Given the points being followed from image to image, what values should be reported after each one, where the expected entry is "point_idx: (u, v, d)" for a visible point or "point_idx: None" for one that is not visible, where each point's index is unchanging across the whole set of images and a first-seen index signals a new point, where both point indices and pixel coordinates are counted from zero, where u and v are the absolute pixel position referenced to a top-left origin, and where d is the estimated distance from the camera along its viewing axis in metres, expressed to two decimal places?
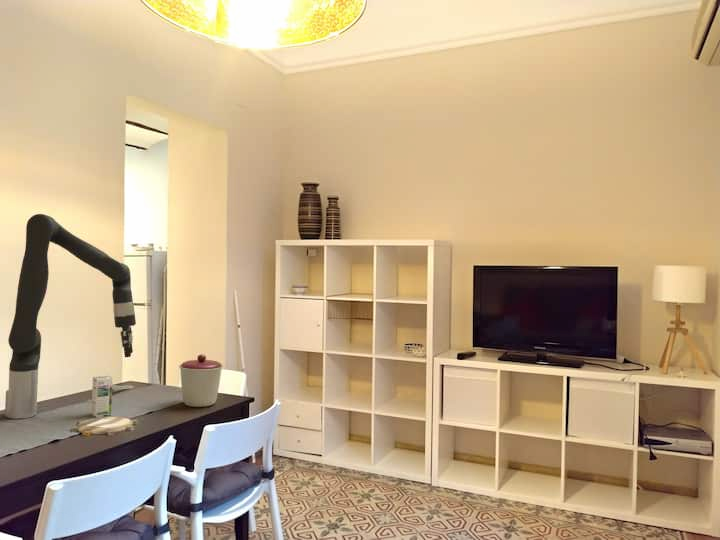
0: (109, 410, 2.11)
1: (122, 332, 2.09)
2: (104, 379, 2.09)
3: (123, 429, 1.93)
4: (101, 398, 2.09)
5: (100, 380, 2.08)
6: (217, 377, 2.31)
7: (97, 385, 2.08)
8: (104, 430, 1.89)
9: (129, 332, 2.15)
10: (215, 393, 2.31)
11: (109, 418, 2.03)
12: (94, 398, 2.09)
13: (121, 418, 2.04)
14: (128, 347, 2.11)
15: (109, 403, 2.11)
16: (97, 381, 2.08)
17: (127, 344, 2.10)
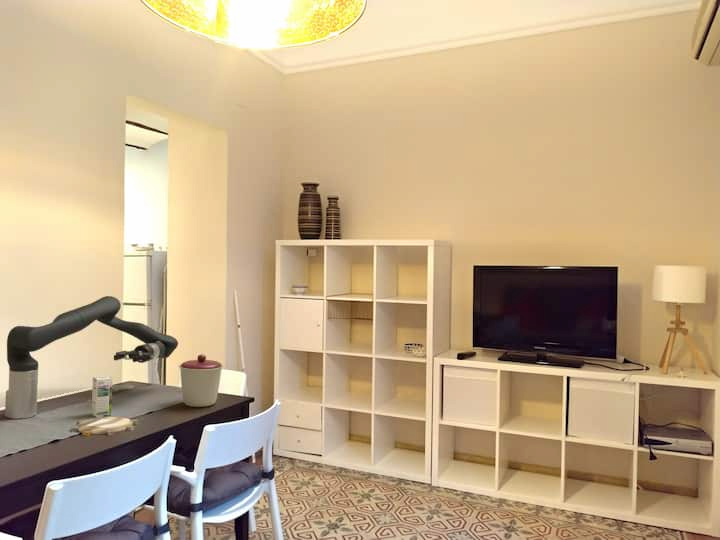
0: (109, 410, 2.11)
1: (152, 354, 2.33)
2: (104, 379, 2.09)
3: (123, 429, 1.93)
4: (101, 398, 2.09)
5: (100, 380, 2.08)
6: (217, 377, 2.31)
7: (97, 385, 2.08)
8: (104, 430, 1.89)
9: None
10: (215, 393, 2.31)
11: (109, 418, 2.03)
12: (94, 398, 2.09)
13: (121, 418, 2.04)
14: (141, 359, 2.27)
15: (109, 403, 2.11)
16: (97, 381, 2.08)
17: (146, 359, 2.28)
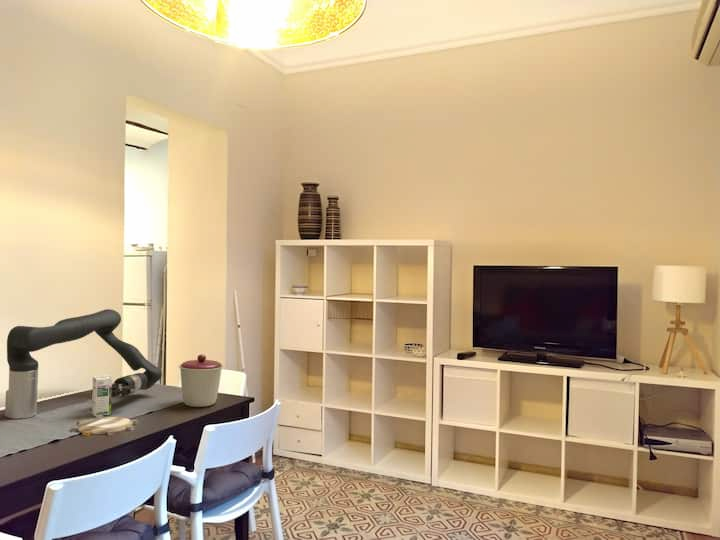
0: (109, 410, 2.10)
1: (133, 387, 2.20)
2: (104, 379, 2.09)
3: (123, 429, 1.93)
4: (101, 398, 2.09)
5: (99, 380, 2.08)
6: (217, 377, 2.31)
7: (97, 385, 2.08)
8: (104, 430, 1.89)
9: None
10: (215, 393, 2.31)
11: (109, 418, 2.03)
12: (94, 398, 2.09)
13: (121, 418, 2.04)
14: (120, 394, 2.14)
15: (109, 403, 2.10)
16: (96, 381, 2.08)
17: (126, 393, 2.15)
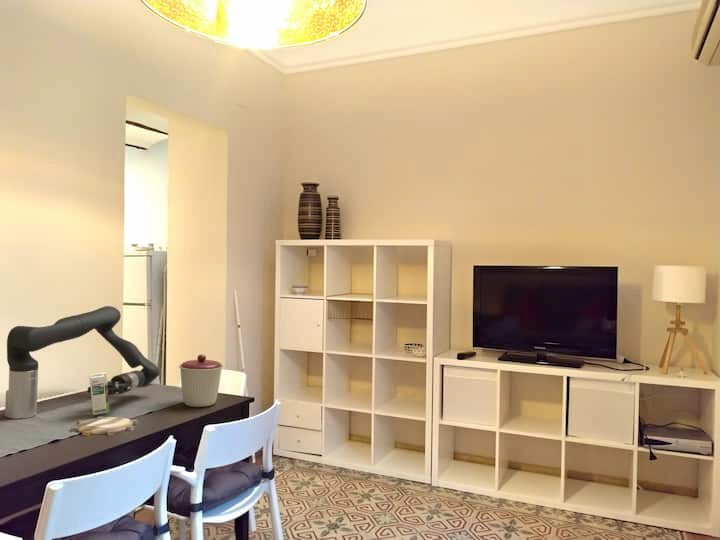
0: (107, 407, 2.09)
1: (130, 385, 2.18)
2: (98, 377, 2.07)
3: (123, 429, 1.93)
4: (97, 397, 2.07)
5: (94, 379, 2.06)
6: (217, 377, 2.31)
7: (91, 384, 2.06)
8: (104, 430, 1.89)
9: None
10: (215, 393, 2.31)
11: (109, 418, 2.03)
12: (91, 396, 2.08)
13: (121, 418, 2.04)
14: (117, 392, 2.12)
15: (106, 401, 2.09)
16: (91, 380, 2.06)
17: (123, 391, 2.13)
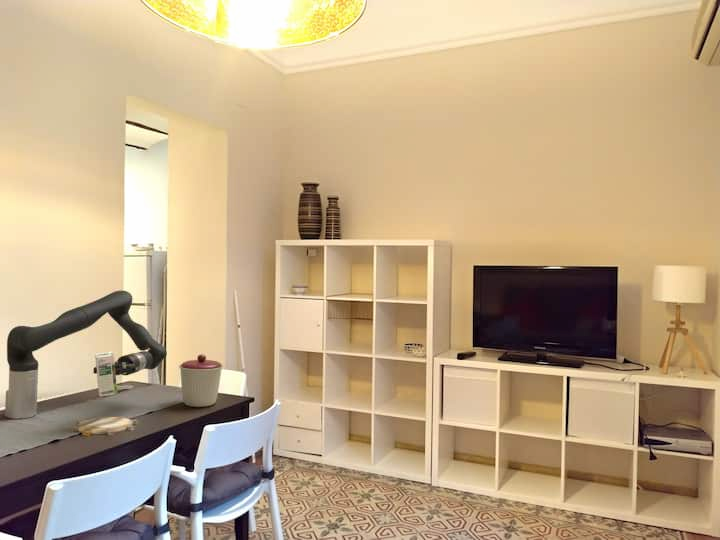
0: (114, 389, 1.96)
1: (138, 366, 2.05)
2: (105, 357, 1.94)
3: (123, 429, 1.93)
4: (104, 377, 1.94)
5: (100, 358, 1.93)
6: (217, 377, 2.31)
7: (98, 363, 1.93)
8: (104, 430, 1.89)
9: None
10: (215, 393, 2.31)
11: (109, 418, 2.03)
12: (97, 377, 1.95)
13: (121, 418, 2.04)
14: (125, 372, 1.99)
15: (113, 381, 1.96)
16: (97, 359, 1.92)
17: (131, 371, 2.00)
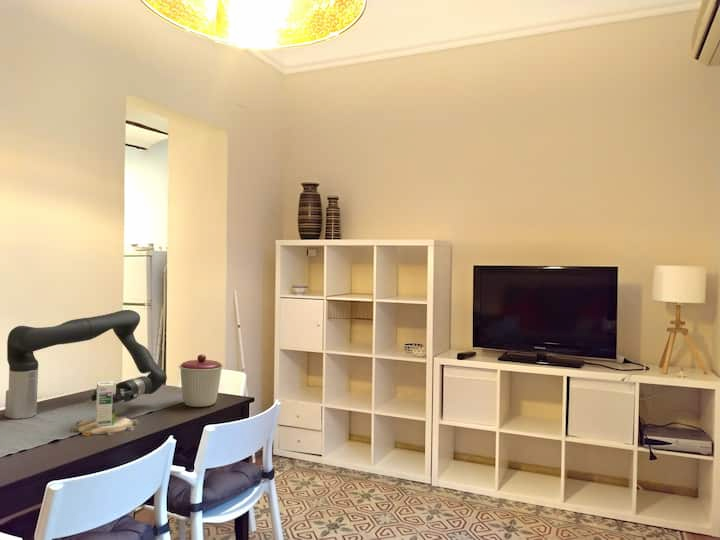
0: (112, 419, 1.95)
1: (136, 392, 2.03)
2: (107, 385, 1.94)
3: (123, 429, 1.93)
4: (103, 406, 1.93)
5: (102, 386, 1.93)
6: (217, 377, 2.31)
7: (99, 392, 1.93)
8: (104, 430, 1.89)
9: None
10: (215, 393, 2.31)
11: None
12: (97, 405, 1.95)
13: (121, 418, 2.04)
14: (123, 400, 1.98)
15: (112, 412, 1.95)
16: (99, 387, 1.93)
17: (129, 399, 1.99)
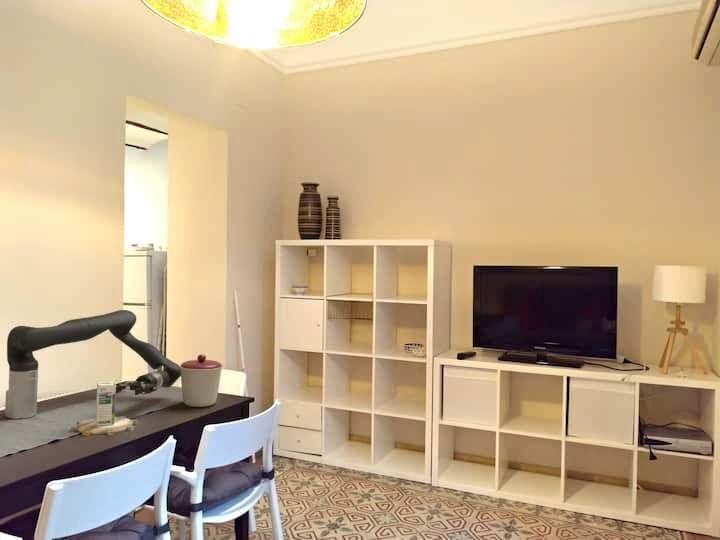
0: (112, 419, 1.95)
1: (156, 385, 2.16)
2: (107, 385, 1.94)
3: (123, 429, 1.93)
4: (103, 406, 1.94)
5: (102, 386, 1.93)
6: (217, 377, 2.31)
7: (99, 392, 1.93)
8: (104, 430, 1.89)
9: None
10: (215, 393, 2.31)
11: None
12: (97, 405, 1.95)
13: (121, 418, 2.04)
14: (143, 392, 2.10)
15: (112, 411, 1.95)
16: (99, 387, 1.93)
17: (149, 391, 2.11)
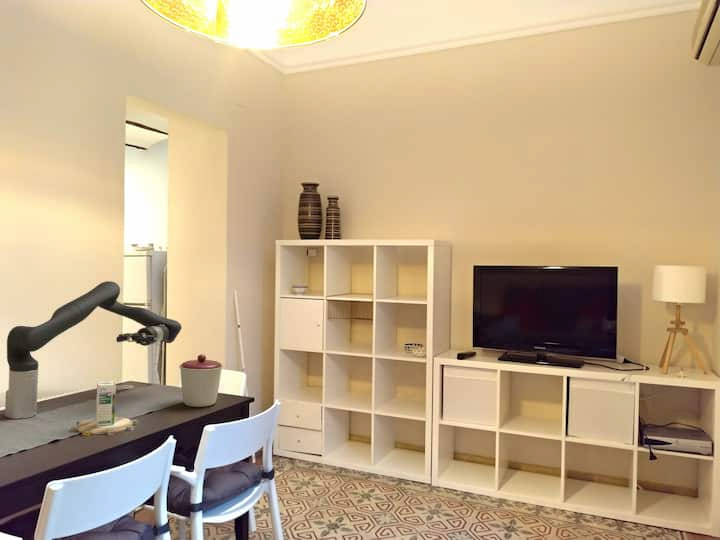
0: (112, 419, 1.95)
1: (156, 336, 2.26)
2: (107, 385, 1.94)
3: (123, 429, 1.93)
4: (103, 406, 1.94)
5: (102, 386, 1.93)
6: (217, 377, 2.31)
7: (99, 392, 1.93)
8: (104, 430, 1.89)
9: None
10: (215, 393, 2.31)
11: None
12: (97, 405, 1.95)
13: (121, 418, 2.04)
14: (144, 341, 2.20)
15: (112, 411, 1.95)
16: (99, 387, 1.93)
17: (150, 341, 2.21)
